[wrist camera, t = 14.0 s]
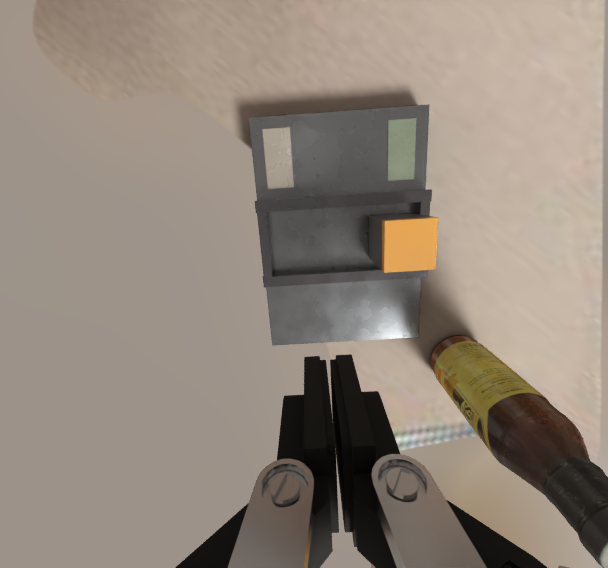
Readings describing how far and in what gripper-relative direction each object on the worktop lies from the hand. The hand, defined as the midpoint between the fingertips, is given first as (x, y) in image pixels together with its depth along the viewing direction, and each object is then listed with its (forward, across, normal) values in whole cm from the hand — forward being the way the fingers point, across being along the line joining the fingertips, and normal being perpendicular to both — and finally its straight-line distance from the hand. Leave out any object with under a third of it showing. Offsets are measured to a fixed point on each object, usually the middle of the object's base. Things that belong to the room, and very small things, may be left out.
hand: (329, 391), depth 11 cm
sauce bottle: (+22, -16, +13) cm, 30 cm away
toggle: (+20, -7, -2) cm, 21 cm away
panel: (+22, -3, -2) cm, 22 cm away
